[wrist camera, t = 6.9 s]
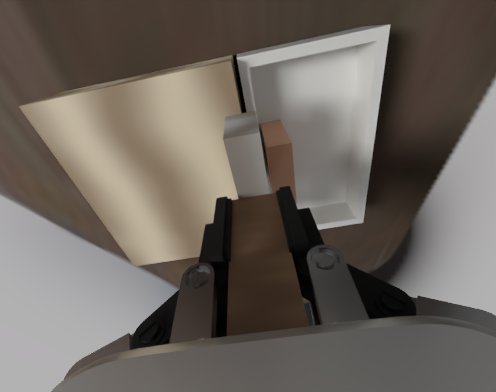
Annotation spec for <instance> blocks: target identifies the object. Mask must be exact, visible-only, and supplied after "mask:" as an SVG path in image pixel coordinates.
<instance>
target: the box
mask: <svg viewBox="0 0 496 392" xmlns="http://www.w3.org/2000/svg"><path fill="white" fill-rule="evenodd" d="M389 31H390V25H377V26H364V27H359V28H355V29H350V30H345V31H341V32H336V33H332V34H327V35H322V36H318V37H313V38H309V39H304V40H299V41H295V42H290V43H286V44H281V45H276V46H272V47H267V48H263V49H258V50H253V51H249V52H244V53H240V54H237V63H238V68H239V74H240V79H241V85H242V90H243V96H244V101H245V107H246V112H252V111H255V112H256V117H257V122H258V127H259V131H260V137H261V144H262V150H263V156H264V163H265V169H266V176H267V182H268V188H269V194H271V193H272V190H271V186H270V181H269V176H268V170H267V164H266V157H265V151H264V144H263V138H262V131H261V124H260V123H265V122H270V121H275V120H281V122H282V124H283V126H284V128H285V130H286V132H287V134H288V136H289V138H290V140H291V142H292V150H293V163H294V176H295V189H296V201H297V204H296V206H297V209H303V208H309V209H310V211H311V213H312V215H313V218H314V220H315V223H316V225H317V228H318V230H319V229H325V228H332V227H338V226H345V225H351V224H358V223H363V220H364V213H365V205H366V198H367V191H368V184H369V176H370V169H371V162H372V155H373V147H374V140H375V133H376V126H377V118H378V111H379V104H380V97H381V89H382V82H383V75H384V68H385V60H386V53H387V46H388V39H389Z"/></svg>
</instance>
